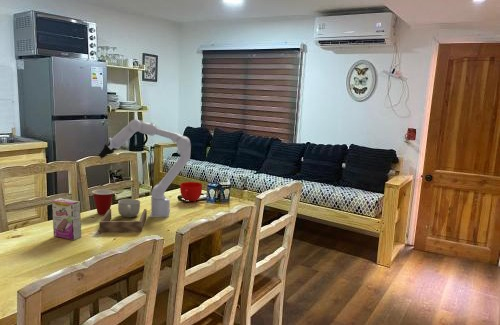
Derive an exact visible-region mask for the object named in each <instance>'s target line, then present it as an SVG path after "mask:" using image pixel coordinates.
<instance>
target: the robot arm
mask: <svg viewBox="0 0 500 325" xmlns="http://www.w3.org/2000/svg"><path fill="white" fill-rule="evenodd" d="M137 132H139V133H140V134H144V135H147V136H151V137H154V136H155V135H157V136H160V137H163V138H167V139H169V140H171V141H172V142H173V143H174V144H175V143H176V147H177V150H178V151H179V158H178V159H177V160H176V161H175V163H174V164H173V165H172V166H171V168H170V169H169V170H168V172H167V173H166V174H165V176H164V177H163V178H162V179H161V180H160V181H159V182H158V183H157V184H155V185H154V186H153V188H152V190H150V191H151V192H150V196H151V197H150V198H151V199H150V201H151V202H150V203H151V204H150V205H151V207H150V211H151V212H150V215H149V217H150V218H163V217H164V218H168V217H170V213H171V209H170V199H171V198H168V197H166V195H165V192H166V190H167V189H168V188H169V186H170V185H171V183H172V182H173V181H174V180H175V178H176V177H177V176H178V175H179V173H180V172H181V171H182V169H183V168H184V167H185V166H186V164H187V163H189V161H190V159H191V153H192V152H191V150H192V149H191V148H192V143H191V140H190V138H189V137H188V136H186V135H182V134H180V133H178V132H175V131H170V130H166V129H162V128H158V127H157V125H156V124H154V122H145V121H144V120H143V119H142V120H139V119H137V118H136V119H132V120H130V121H129V122H128V124H126V126H124V127H123V128H122V129H121V130H120V131H118V132H117V133H116V134H115V135H114V136H113V137H108V138H107V139H108V140H109V141H108V143H105V144H104V146H103V148H102V150H101V151H100V153H98V157H99V158H100V159H103V158H105V157H107V156H108V155H111V154H113V153H115V151H116V150H119V149H120V148H121V147H122V146H124V144H126V142H127V141H129V140H130V139H131V138H132V137H133V135H134V134H135V133H137Z"/></svg>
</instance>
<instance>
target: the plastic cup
mask: <svg viewBox="0 0 500 325" xmlns="http://www.w3.org/2000/svg"><path fill="white" fill-rule="evenodd" d="M91 192H92V195H93V199H94V204H95V208H96V213H97V215H99V216H104V215H105V214H106V212H107V211H108V209H111V207H112V201H113V196H114V194H115V191H114V190H111V189H95V190H92V191H91Z"/></svg>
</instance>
